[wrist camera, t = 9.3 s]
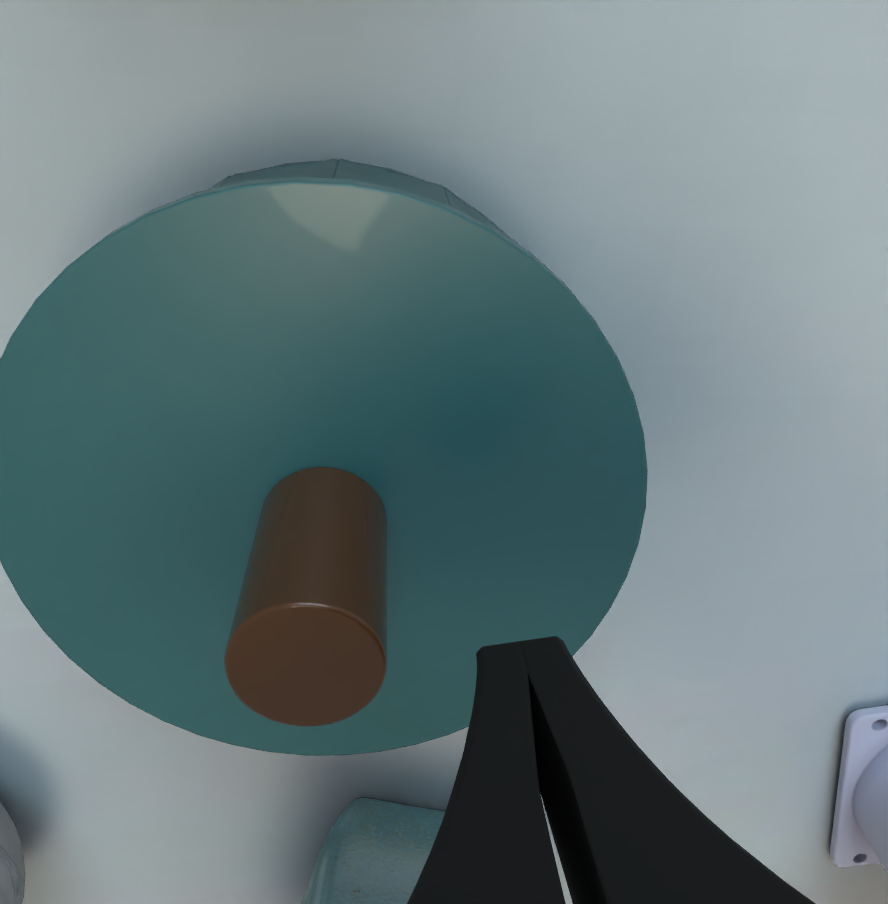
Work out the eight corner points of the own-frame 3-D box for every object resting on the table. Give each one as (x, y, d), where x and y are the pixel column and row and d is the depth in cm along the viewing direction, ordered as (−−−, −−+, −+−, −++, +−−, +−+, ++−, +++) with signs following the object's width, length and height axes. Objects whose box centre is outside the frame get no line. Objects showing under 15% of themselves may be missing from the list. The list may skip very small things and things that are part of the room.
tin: (551, 123, 20) (605, 156, 15) (582, 560, 26) (627, 685, 21) (23, 203, 20) (-92, 260, 15) (174, 620, 26) (125, 759, 21)
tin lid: (623, 119, 15) (739, 166, 10) (641, 681, 21) (718, 880, 16) (-114, 230, 15) (-355, 331, 10) (119, 757, 22) (39, 978, 17)
